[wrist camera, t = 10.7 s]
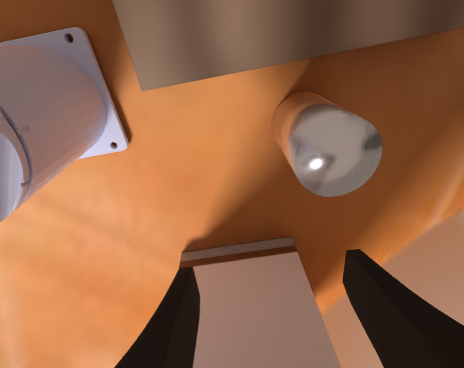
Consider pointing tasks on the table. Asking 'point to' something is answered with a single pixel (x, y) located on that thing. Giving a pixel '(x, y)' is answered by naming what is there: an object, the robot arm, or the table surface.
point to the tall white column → (257, 309)
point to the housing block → (264, 32)
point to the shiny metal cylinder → (326, 144)
